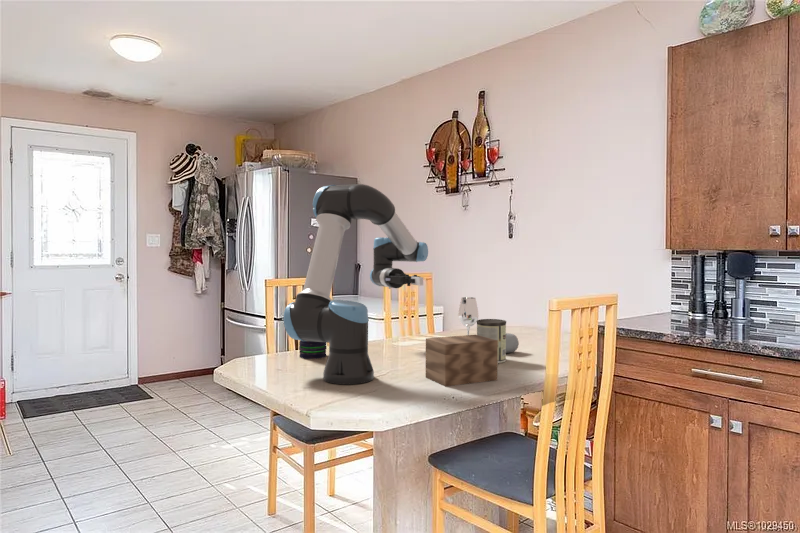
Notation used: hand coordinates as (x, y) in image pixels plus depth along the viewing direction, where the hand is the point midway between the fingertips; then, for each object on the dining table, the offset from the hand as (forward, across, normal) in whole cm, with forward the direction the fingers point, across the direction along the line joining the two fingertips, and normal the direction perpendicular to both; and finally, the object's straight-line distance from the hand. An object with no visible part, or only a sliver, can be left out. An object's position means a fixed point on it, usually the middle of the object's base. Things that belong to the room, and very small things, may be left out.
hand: (421, 281), depth 191 cm
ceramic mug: (-4, -37, -28) cm, 46 cm away
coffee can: (+7, -24, -28) cm, 38 cm away
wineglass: (-16, -29, -28) cm, 43 cm away
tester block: (+26, 0, -28) cm, 38 cm away
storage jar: (-26, +31, -28) cm, 49 cm away
